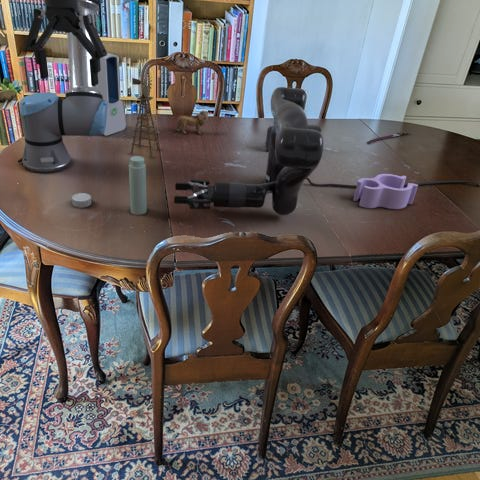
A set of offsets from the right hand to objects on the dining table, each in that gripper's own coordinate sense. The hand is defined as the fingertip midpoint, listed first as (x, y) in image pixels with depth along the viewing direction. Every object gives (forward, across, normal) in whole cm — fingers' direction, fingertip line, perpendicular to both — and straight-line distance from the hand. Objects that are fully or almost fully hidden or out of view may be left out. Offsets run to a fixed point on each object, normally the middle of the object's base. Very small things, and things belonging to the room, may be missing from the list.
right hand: (174, 192), depth 137 cm
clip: (-70, -13, +6) cm, 71 cm away
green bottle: (+11, 0, +6) cm, 12 cm away
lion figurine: (-5, -68, +6) cm, 69 cm away
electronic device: (+29, -64, +6) cm, 71 cm away
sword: (-95, -75, +6) cm, 121 cm away
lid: (+28, -3, +5) cm, 28 cm away
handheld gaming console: (-46, -54, +6) cm, 71 cm away
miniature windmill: (+12, -44, +6) cm, 46 cm away
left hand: (+28, -3, -29) cm, 40 cm away
